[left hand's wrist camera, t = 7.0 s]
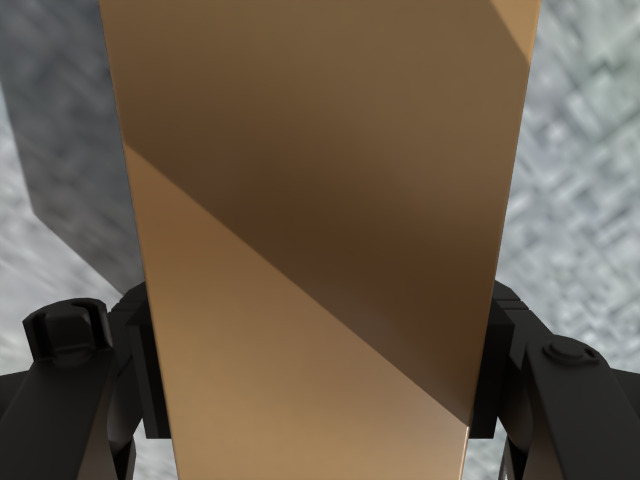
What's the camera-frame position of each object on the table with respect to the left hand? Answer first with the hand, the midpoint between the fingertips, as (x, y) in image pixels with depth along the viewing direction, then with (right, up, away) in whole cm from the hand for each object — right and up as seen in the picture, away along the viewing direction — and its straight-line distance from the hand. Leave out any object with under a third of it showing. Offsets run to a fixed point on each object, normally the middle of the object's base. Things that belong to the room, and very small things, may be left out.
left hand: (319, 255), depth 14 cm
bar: (0, +31, -11) cm, 33 cm away
